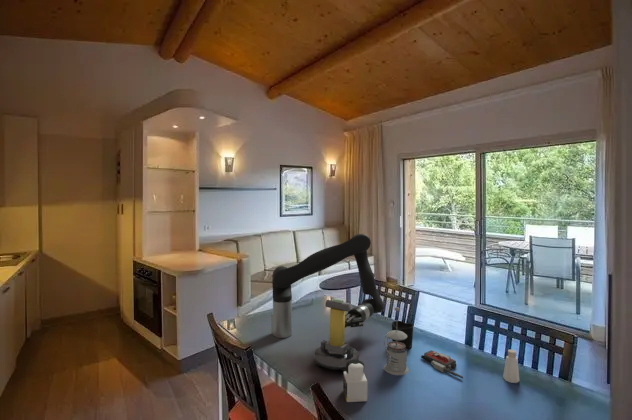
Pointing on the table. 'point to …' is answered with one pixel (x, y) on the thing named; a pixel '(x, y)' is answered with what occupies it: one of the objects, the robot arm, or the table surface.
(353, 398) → the medicine bottle
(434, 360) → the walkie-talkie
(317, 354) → the dark grey round stand
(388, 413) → the table surface
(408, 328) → the pen holder
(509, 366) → the pepper shaker
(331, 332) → the yellow mallet
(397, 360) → the french press
